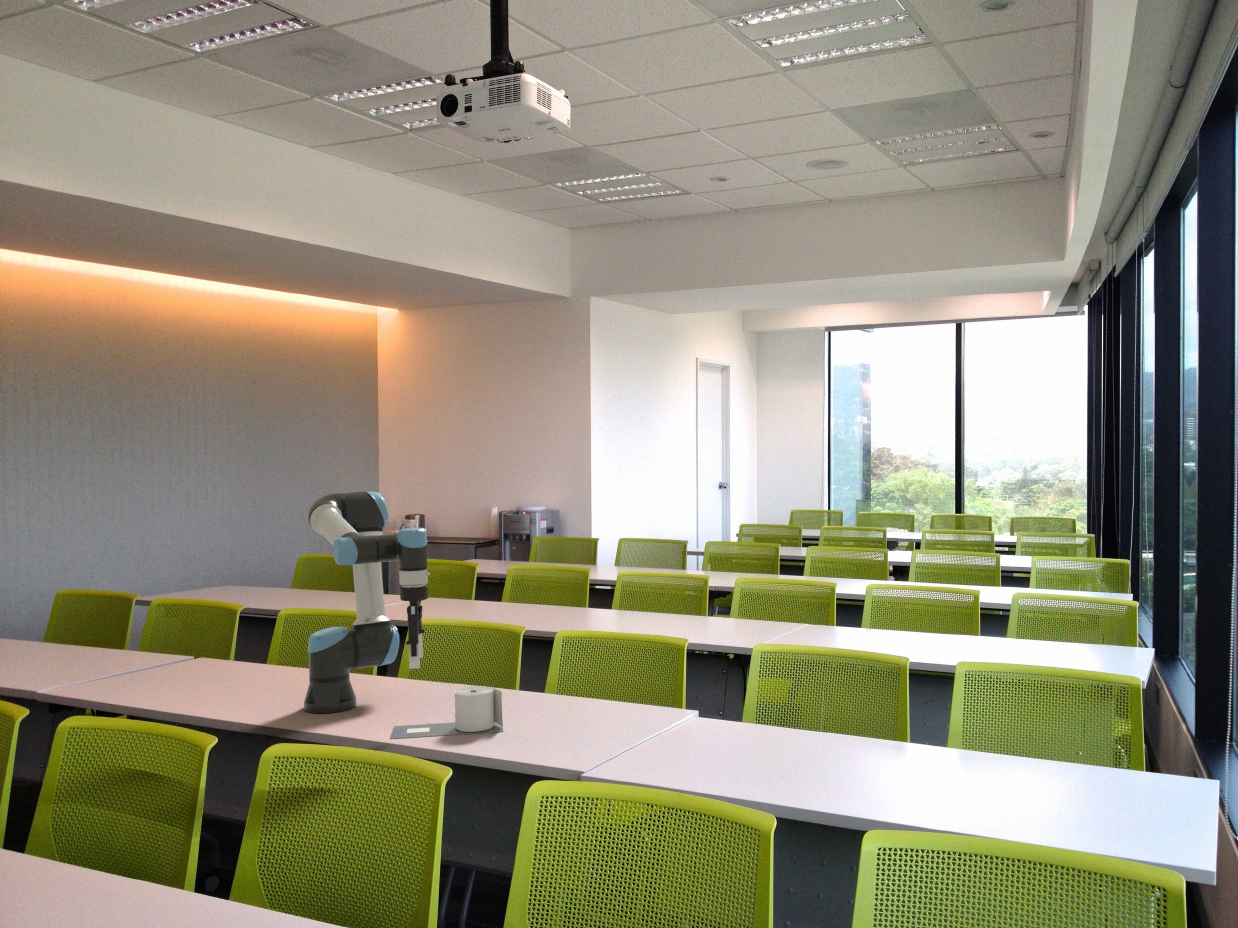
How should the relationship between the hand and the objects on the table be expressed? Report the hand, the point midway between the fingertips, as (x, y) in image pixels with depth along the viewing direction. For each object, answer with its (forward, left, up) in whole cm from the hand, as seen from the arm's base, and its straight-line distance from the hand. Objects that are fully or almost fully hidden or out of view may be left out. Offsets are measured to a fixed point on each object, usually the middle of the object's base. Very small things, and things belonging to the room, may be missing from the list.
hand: (416, 662), depth 273 cm
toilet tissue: (+16, 0, -19) cm, 25 cm away
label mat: (+8, 0, -19) cm, 20 cm away
